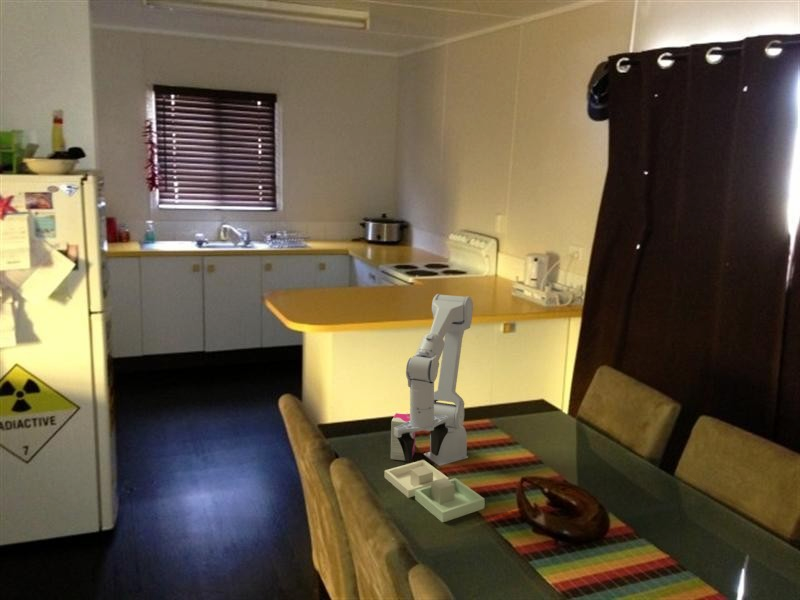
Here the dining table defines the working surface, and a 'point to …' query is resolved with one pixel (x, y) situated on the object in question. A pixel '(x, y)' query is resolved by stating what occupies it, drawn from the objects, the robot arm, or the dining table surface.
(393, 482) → the tray
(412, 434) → the supplement box
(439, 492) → the cream cube block
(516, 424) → the dining table surface
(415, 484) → the ivory sharp-edged cube
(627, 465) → the dining table surface
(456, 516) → the tub
